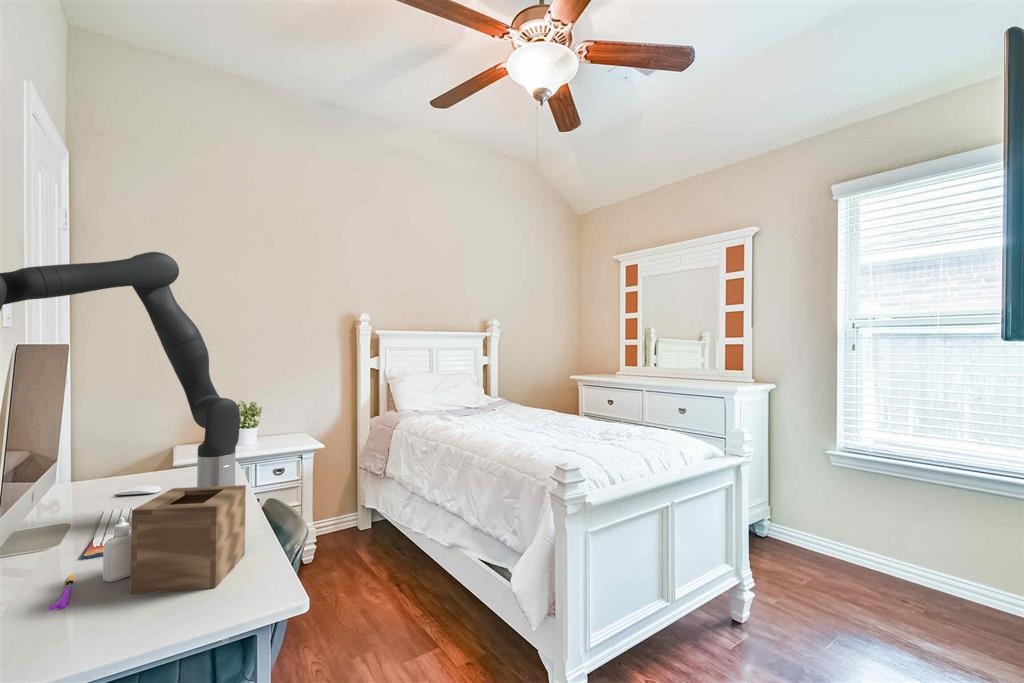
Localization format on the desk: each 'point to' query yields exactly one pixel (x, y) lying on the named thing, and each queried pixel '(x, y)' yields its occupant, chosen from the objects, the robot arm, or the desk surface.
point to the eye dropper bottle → (117, 553)
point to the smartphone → (93, 551)
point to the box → (187, 538)
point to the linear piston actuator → (65, 597)
